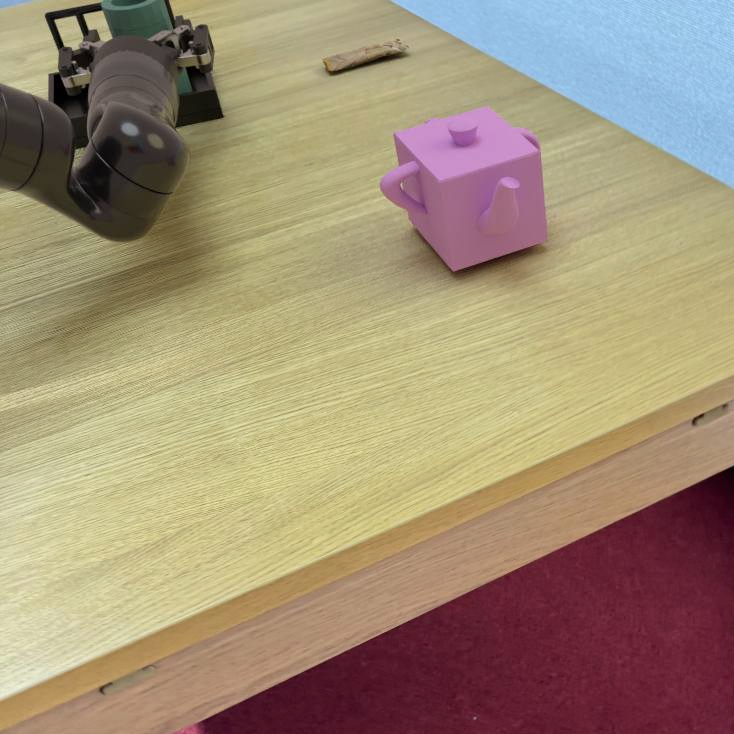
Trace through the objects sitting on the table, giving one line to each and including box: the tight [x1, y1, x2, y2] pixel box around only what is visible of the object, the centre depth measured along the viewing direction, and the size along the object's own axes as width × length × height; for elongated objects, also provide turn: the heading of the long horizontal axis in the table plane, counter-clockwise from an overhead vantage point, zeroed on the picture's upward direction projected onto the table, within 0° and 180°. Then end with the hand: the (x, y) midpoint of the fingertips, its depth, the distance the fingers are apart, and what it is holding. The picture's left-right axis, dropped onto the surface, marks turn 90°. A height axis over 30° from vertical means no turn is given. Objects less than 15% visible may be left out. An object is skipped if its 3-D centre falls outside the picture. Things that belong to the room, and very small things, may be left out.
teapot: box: [379, 105, 549, 273], centre depth 85 cm, size 18×14×10 cm
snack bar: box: [321, 38, 410, 72], centre depth 118 cm, size 10×2×3 cm
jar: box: [100, 0, 193, 94], centre depth 109 cm, size 6×6×10 cm
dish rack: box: [44, 0, 225, 149], centre depth 111 cm, size 17×14×9 cm
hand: (139, 32), depth 106 cm, fingers open, 8 cm apart
